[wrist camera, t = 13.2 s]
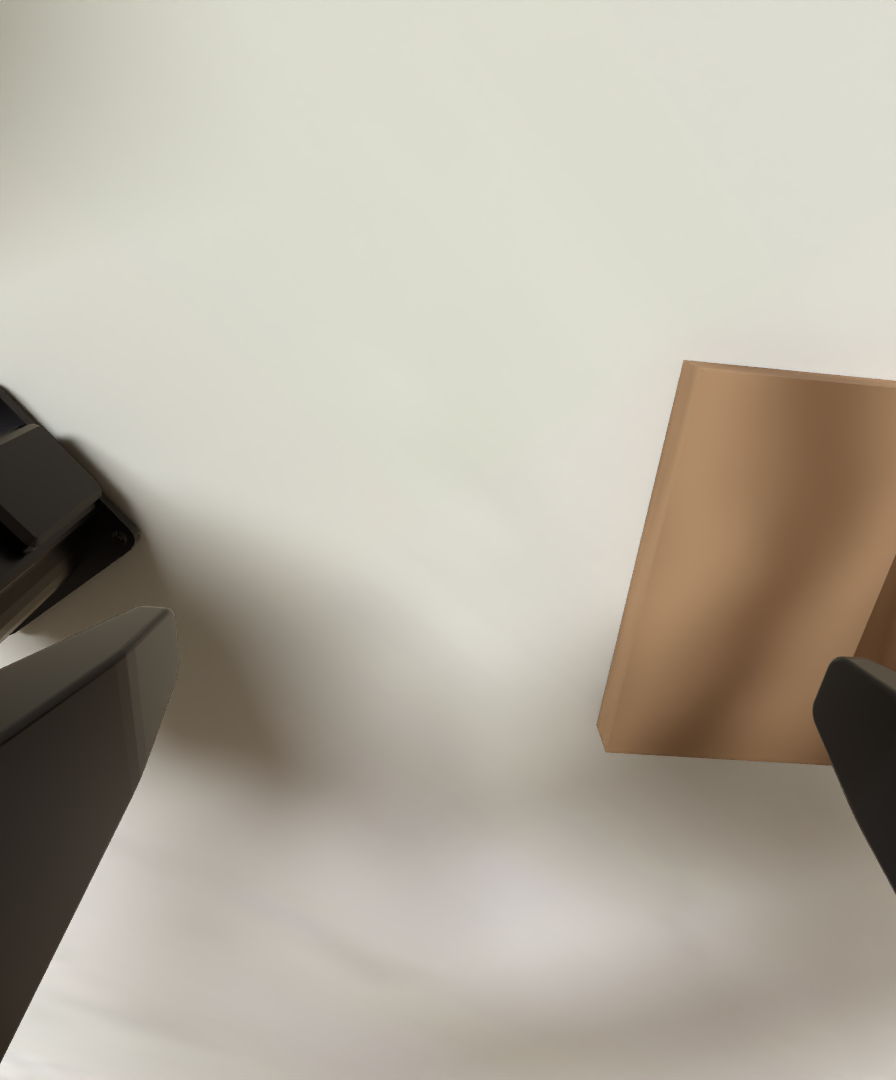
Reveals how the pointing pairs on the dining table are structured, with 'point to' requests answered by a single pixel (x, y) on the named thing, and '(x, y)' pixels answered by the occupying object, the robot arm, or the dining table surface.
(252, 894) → the dining table surface
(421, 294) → the dining table surface
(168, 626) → the robot arm
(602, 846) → the dining table surface
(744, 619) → the walnut base
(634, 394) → the dining table surface
